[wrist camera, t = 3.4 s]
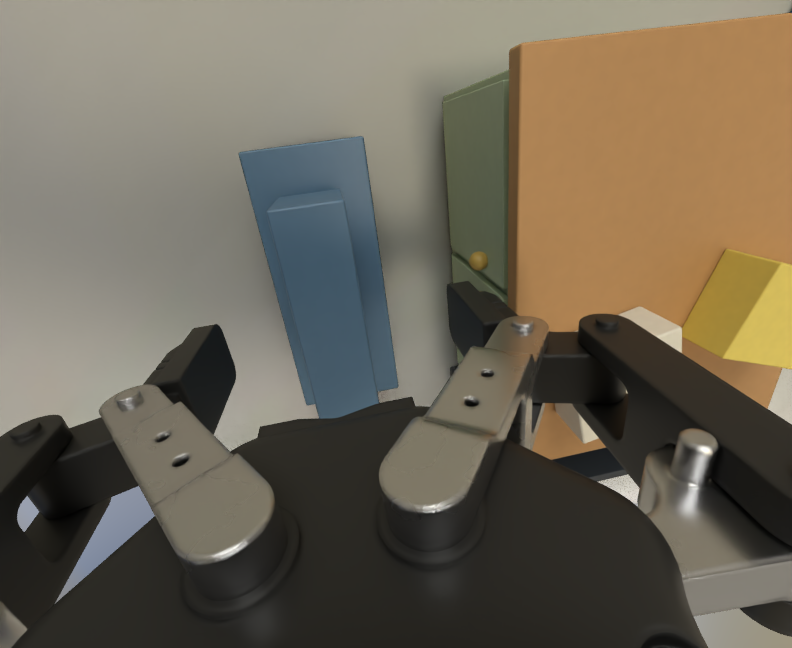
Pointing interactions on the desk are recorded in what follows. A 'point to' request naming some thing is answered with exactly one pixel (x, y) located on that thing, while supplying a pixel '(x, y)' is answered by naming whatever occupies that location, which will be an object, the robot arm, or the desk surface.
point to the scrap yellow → (745, 311)
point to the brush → (325, 268)
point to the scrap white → (582, 430)
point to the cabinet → (624, 178)
